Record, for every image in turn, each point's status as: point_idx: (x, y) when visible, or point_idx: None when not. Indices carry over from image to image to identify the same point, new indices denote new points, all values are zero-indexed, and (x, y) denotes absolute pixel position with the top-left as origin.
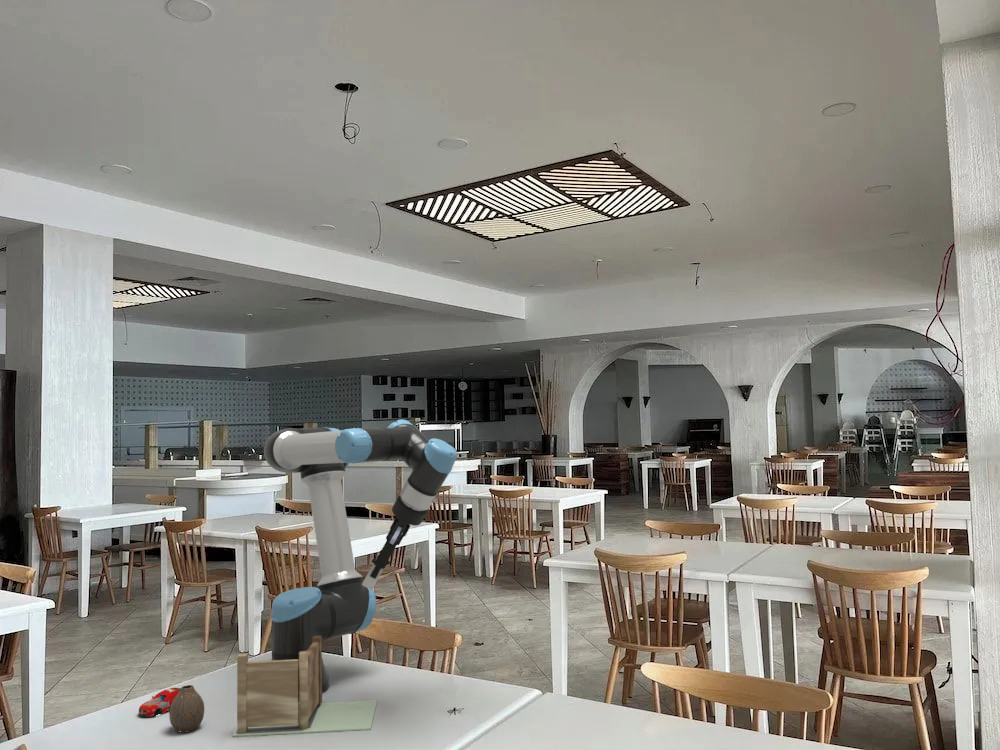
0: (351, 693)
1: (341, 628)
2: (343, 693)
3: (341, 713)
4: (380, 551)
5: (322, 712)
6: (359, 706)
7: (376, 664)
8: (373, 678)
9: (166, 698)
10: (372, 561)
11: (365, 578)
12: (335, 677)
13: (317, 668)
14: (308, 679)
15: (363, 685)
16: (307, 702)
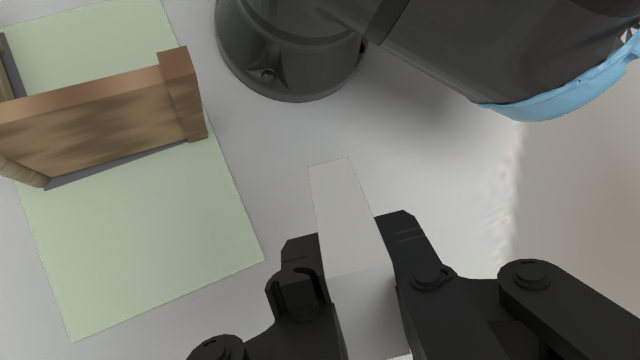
0: (304, 169)
1: (403, 60)
2: (299, 150)
3: (156, 218)
4: (515, 280)
5: (153, 168)
6: (213, 238)
7: (509, 130)
8: (416, 171)
9: None
10: (269, 290)
11: (312, 190)
12: (397, 78)
13: (157, 115)
14: (14, 152)
15: (364, 170)
16: (8, 176)
